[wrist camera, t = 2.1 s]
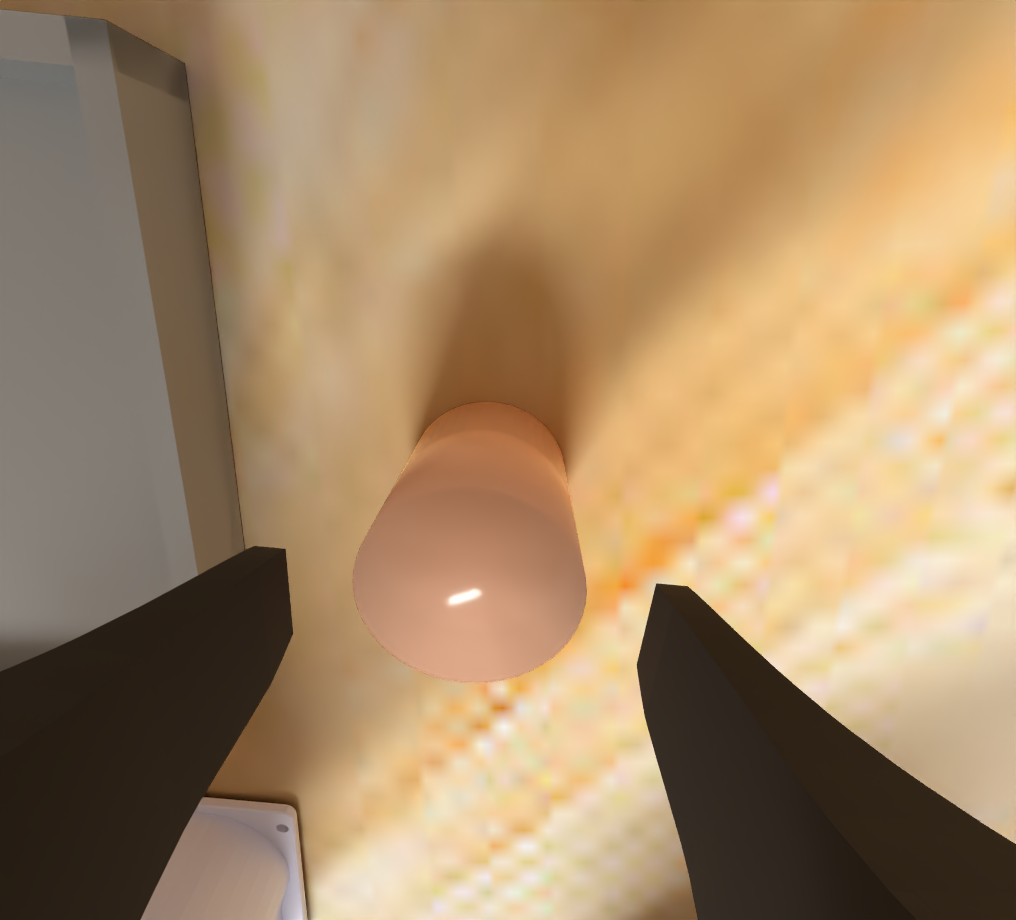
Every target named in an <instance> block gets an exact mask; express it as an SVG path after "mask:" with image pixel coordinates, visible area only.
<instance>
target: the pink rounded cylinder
mask: <svg viewBox="0 0 1016 920" xmlns="http://www.w3.org/2000/svg"><path fill="white" fill-rule="evenodd" d="M353 589H354V597H355V601H356V604H357V608H358V610H359V613H360V615H361V617H362V620H363V622H364V623H365V625H366V627H367V628H368V630H369V631H370V633H371V634H372V635H373V636H374V638H375V639H376V640H377V641H378V642H379V643H380V644H381V645H382V646H383V647H384V648H385V649H386V650H387V651H388V652H389V653H390V654H392V655H393V656H394V657H396V658H397V659H398V660H400V661H402V662H403V663H405V664H406V665H408V666H410V667H412V668H414V669H416V670H418V671H420V672H422V673H425V674H428V675H431V676H434V677H437V678H441V679H445V680H450V681H457V682H467V683H484V682H494V681H500V680H506V679H509V678H513V677H517V676H519V675H522V674H525V673H527V672H530V671H532V670H534V669H535V668H537V667H539V666H541V665H543V664H544V663H546V662H547V661H548V660H550V659H551V658H553V657H554V656H555V655H556V654H557V653H558V652H559V651H560V650H561V649H563V647H564V646H565V645H566V644H567V643H568V641H569V640H570V639H571V637H572V636H573V634H574V633H575V631H576V629H577V628H578V625H579V623H580V621H581V618H582V616H583V612H584V608H585V604H586V594H587V589H586V577H585V572H584V566H583V561H582V556H581V550H580V545H579V540H578V535H577V529H576V524H575V519H574V513H573V508H572V503H571V498H570V492H569V487H568V482H567V477H566V471H565V466H564V461H563V457H562V453H561V451H560V448H559V446H558V444H557V442H556V440H555V438H554V437H553V435H552V434H551V433H550V431H549V430H548V429H547V428H546V427H545V426H544V425H543V424H542V423H541V422H540V421H539V420H538V419H536V418H535V417H534V416H532V415H531V414H529V413H527V412H526V411H524V410H521V409H519V408H517V407H514V406H511V405H508V404H504V403H497V402H475V403H470V404H465V405H462V406H459V407H456V408H454V409H452V410H450V411H448V412H446V413H444V414H443V415H441V416H440V417H439V418H437V419H436V420H435V421H434V422H433V423H432V424H431V425H430V426H429V427H428V428H427V429H426V431H425V432H424V433H423V435H422V436H421V438H420V440H419V442H418V443H417V445H416V447H415V449H414V451H413V452H412V454H411V456H410V458H409V460H408V461H407V463H406V465H405V467H404V469H403V470H402V472H401V474H400V476H399V478H398V479H397V481H396V483H395V485H394V487H393V488H392V490H391V492H390V494H389V496H388V497H387V499H386V501H385V503H384V505H383V507H382V508H381V510H380V512H379V514H378V516H377V517H376V519H375V521H374V523H373V525H372V526H371V528H370V530H369V532H368V534H367V535H366V537H365V539H364V541H363V543H362V544H361V547H360V549H359V552H358V554H357V557H356V561H355V566H354V570H353Z"/></svg>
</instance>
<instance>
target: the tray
mask: <svg viewBox="0 0 1016 920" xmlns="http://www.w3.org/2000/svg"><path fill="white" fill-rule="evenodd" d="M242 551H245V550H244V542H243V533H242V525H241V517H240V509H239V501H238V493H237V485H236V477H235V468H234V460H233V452H232V444H231V436H230V428H229V420H228V412H227V404H226V395H225V387H224V379H223V371H222V363H221V355H220V347H219V339H218V330H217V322H216V314H215V306H214V298H213V290H212V282H211V274H210V266H209V257H208V249H207V241H206V233H205V225H204V217H203V209H202V201H201V192H200V184H199V176H198V168H197V160H196V152H195V144H194V136H193V128H192V119H191V111H190V103H189V95H188V87H187V79H186V71H185V63H183V62H181V61H179V60H178V59H176V58H174V57H172V56H170V55H168V54H167V53H165V52H163V51H161V50H159V49H158V48H156V47H154V46H152V45H150V44H149V43H147V42H145V41H143V40H141V39H140V38H138V37H136V36H134V35H132V34H130V33H129V32H127V31H125V30H123V29H121V28H120V27H118V26H116V25H114V24H112V23H111V22H109V21H107V20H104V19H94V18H84V17H74V16H64V15H54V14H43V13H33V12H23V11H13V10H3V9H0V671H3V670H5V669H8V668H10V667H12V666H15V665H17V664H19V663H22V662H24V661H26V660H29V659H31V658H34V657H36V656H38V655H40V654H43V653H45V652H47V651H49V650H52V649H54V648H56V647H58V646H60V645H63V644H65V643H67V642H69V641H71V640H73V639H75V638H78V637H80V636H82V635H84V634H86V633H88V632H90V631H92V630H94V629H96V628H98V627H100V626H102V625H104V624H106V623H108V622H110V621H112V620H114V619H116V618H118V617H120V616H122V615H124V614H126V613H128V612H130V611H132V610H134V609H136V608H138V607H140V606H142V605H144V604H146V603H148V602H149V601H151V600H153V599H155V598H157V597H159V596H161V595H162V594H164V593H166V592H168V591H170V590H172V589H174V588H175V587H177V586H179V585H181V584H183V583H185V582H186V581H188V580H190V579H192V578H194V577H196V576H198V575H199V574H201V573H203V572H205V571H207V570H208V569H210V568H212V567H214V566H216V565H218V564H219V563H221V562H223V561H225V560H227V559H229V558H231V557H233V556H235V555H237V554H238V553H240V552H242Z"/></svg>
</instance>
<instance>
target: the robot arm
mask: <svg viewBox="0 0 1016 920" xmlns="http://www.w3.org/2000/svg"><path fill="white" fill-rule="evenodd" d="M292 635H293V627H292V616H291V605H290V594H289V583H288V571H287V560H286V549H280V548H269V547H258V546H253V547H251V548H249V549H247V550H245V551H242V552H240V553H238V554H237V555H235V556H233V557H231V558H229V559H227V560H225V561H223V562H221V563H219V564H218V565H216V566H214V567H212V568H210V569H208V570H207V571H205V572H203V573H201V574H199V575H198V576H196V577H194V578H192V579H190V580H188V581H186V582H185V583H183V584H181V585H179V586H177V587H175V588H174V589H172V590H170V591H168V592H166V593H164V594H162V595H161V596H159V597H157V598H155V599H153V600H151V601H149V602H148V603H146V604H144V605H142V606H140V607H138V608H136V609H134V610H132V611H130V612H128V613H126V614H124V615H122V616H120V617H118V618H116V619H114V620H112V621H110V622H108V623H106V624H104V625H102V626H100V627H98V628H96V629H94V630H92V631H90V632H88V633H86V634H84V635H82V636H80V637H78V638H75V639H73V640H71V641H69V642H67V643H65V644H63V645H60V646H58V647H56V648H54V649H52V650H49V651H47V652H45V653H43V654H40V655H38V656H36V657H34V658H31V659H29V660H26V661H24V662H22V663H19V664H17V665H15V666H12V667H10V668H8V669H5V670H3V671H0V920H307V910H306V900H305V890H304V881H303V871H302V861H301V851H300V841H299V831H298V821H297V813H296V810H295V809H294V808H293V807H292V806H290V805H286V804H277V803H266V802H254V801H243V800H232V799H220V798H209V797H203V796H204V794H205V793H206V791H207V789H208V788H209V786H210V784H211V783H212V781H213V779H214V778H215V776H216V774H217V773H218V771H219V769H220V768H221V766H222V764H223V763H224V761H225V759H226V758H227V756H228V754H229V753H230V751H231V750H232V748H233V746H234V745H235V743H236V741H237V740H238V738H239V736H240V735H241V733H242V731H243V730H244V728H245V726H246V725H247V723H248V721H249V720H250V718H251V716H252V715H253V713H254V711H255V710H256V708H257V706H258V705H259V703H260V701H261V700H262V698H263V696H264V694H265V693H266V691H267V689H268V688H269V686H270V684H271V682H272V680H273V678H274V676H275V674H276V671H277V669H278V667H279V665H280V663H281V661H282V658H283V656H284V654H285V651H286V649H287V646H288V644H289V642H290V639H291V637H292ZM637 670H638V677H639V684H640V690H641V697H642V702H643V708H644V714H645V719H646V722H647V726H648V730H649V733H650V737H651V740H652V744H653V747H654V751H655V755H656V758H657V762H658V765H659V768H660V772H661V775H662V779H663V782H664V786H665V789H666V793H667V796H668V800H669V803H670V806H671V810H672V813H673V817H674V820H675V824H676V827H677V831H678V834H679V838H680V841H681V845H682V849H683V853H684V857H685V861H686V865H687V869H688V873H689V877H690V882H691V887H692V892H693V897H694V902H695V907H696V912H697V917H698V920H1016V844H1015V843H1013V842H1011V841H1010V840H1008V839H1007V838H1005V837H1003V836H1002V835H1000V834H999V833H997V832H995V831H994V830H992V829H991V828H989V827H987V826H986V825H984V824H983V823H981V822H980V821H978V820H977V819H975V818H974V817H972V816H971V815H969V814H968V813H966V812H965V811H963V810H962V809H960V808H959V807H957V806H956V805H954V804H953V803H951V802H950V801H948V800H947V799H945V798H943V797H942V796H940V795H939V794H937V793H936V792H934V791H933V790H931V789H930V788H928V787H927V786H925V785H924V784H923V783H921V782H920V781H918V780H917V779H915V778H914V777H913V776H911V775H910V774H908V773H907V772H905V771H904V770H903V769H901V768H900V767H898V766H897V765H896V764H894V763H893V762H891V761H890V760H889V759H887V758H886V757H885V756H883V755H882V754H881V753H879V752H878V751H877V750H875V749H874V748H873V747H871V746H870V745H869V744H867V743H866V742H865V741H863V740H862V739H861V738H859V737H858V736H857V735H855V734H854V733H853V732H851V731H850V730H849V729H847V728H846V727H845V726H844V725H842V724H841V723H840V722H839V721H837V720H836V719H835V718H833V717H832V716H831V715H830V714H829V713H827V712H826V711H825V710H824V709H822V708H821V707H820V706H819V705H818V704H817V703H815V702H814V701H813V700H812V699H811V698H809V697H808V696H807V695H806V694H805V693H803V692H802V691H801V690H800V689H799V688H798V687H796V686H795V685H794V684H793V683H792V682H791V681H789V680H788V679H787V678H786V677H785V676H784V675H783V674H781V673H780V672H779V671H778V670H777V669H776V668H775V667H774V666H772V665H771V664H770V663H769V662H768V661H767V660H766V659H765V658H764V657H763V656H762V655H760V654H759V653H758V652H757V651H756V650H755V649H754V648H753V647H752V646H751V645H750V644H749V643H748V642H746V641H745V640H744V639H743V638H742V637H741V636H740V635H739V634H738V633H737V632H736V631H735V630H734V629H733V628H732V627H731V626H730V625H729V624H728V623H727V622H725V621H724V620H723V619H722V618H721V617H720V616H719V615H718V614H717V613H716V612H715V611H714V610H713V609H712V608H711V607H710V606H709V605H708V604H707V603H706V602H705V601H703V600H702V599H701V598H700V597H699V596H698V595H697V594H696V593H695V592H694V591H692V590H691V589H690V588H689V587H688V586H678V585H667V584H656V587H655V591H654V595H653V600H652V604H651V608H650V612H649V616H648V620H647V625H646V629H645V633H644V637H643V641H642V645H641V650H640V654H639V658H638V662H637Z"/></svg>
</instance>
